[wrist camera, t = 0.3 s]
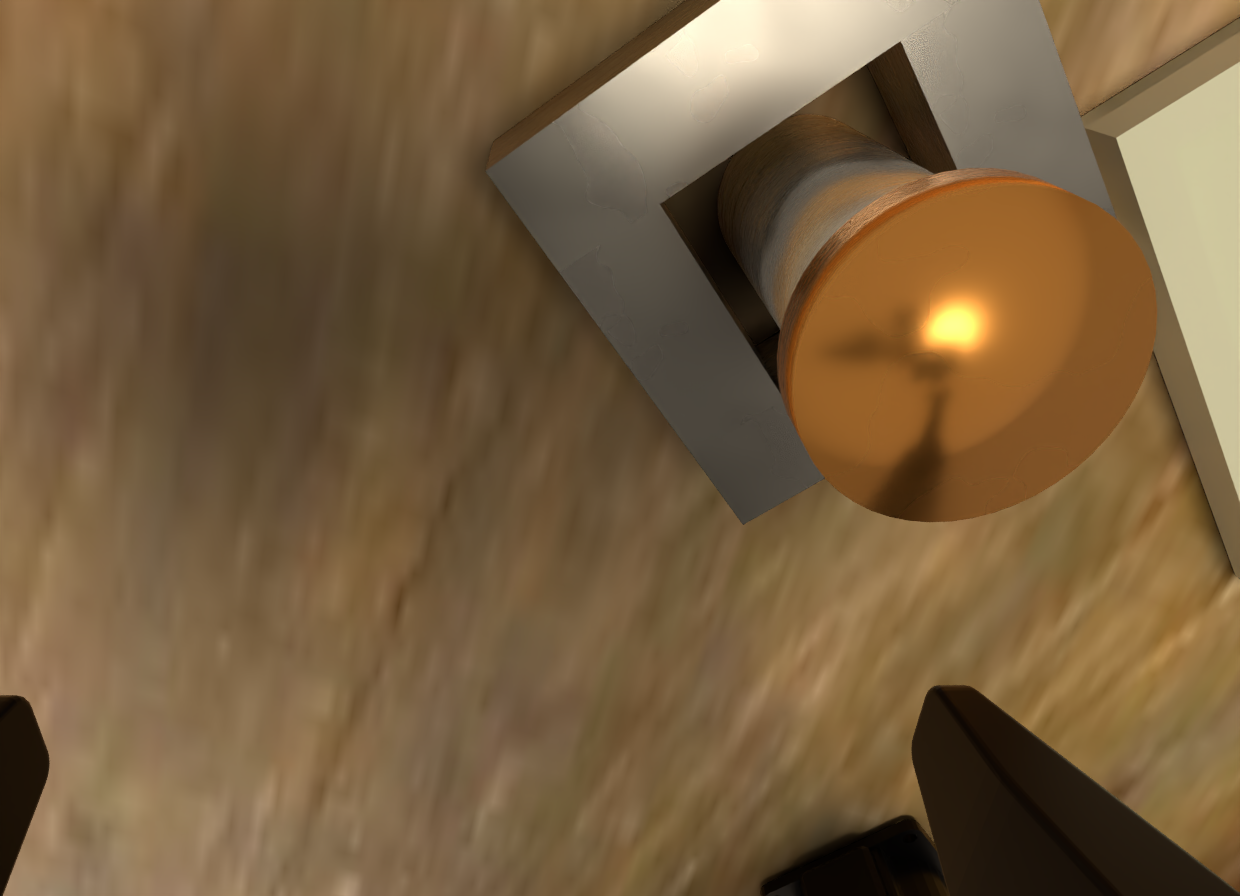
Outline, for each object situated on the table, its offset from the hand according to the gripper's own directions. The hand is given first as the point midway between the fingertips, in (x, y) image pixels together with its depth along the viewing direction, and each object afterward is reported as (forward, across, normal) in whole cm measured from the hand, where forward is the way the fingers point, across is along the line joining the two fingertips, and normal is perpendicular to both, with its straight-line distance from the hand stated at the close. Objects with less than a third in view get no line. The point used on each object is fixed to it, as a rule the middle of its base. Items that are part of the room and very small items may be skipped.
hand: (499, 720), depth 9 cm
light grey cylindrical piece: (+14, -6, -2) cm, 15 cm away
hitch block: (+14, -6, -2) cm, 15 cm away
